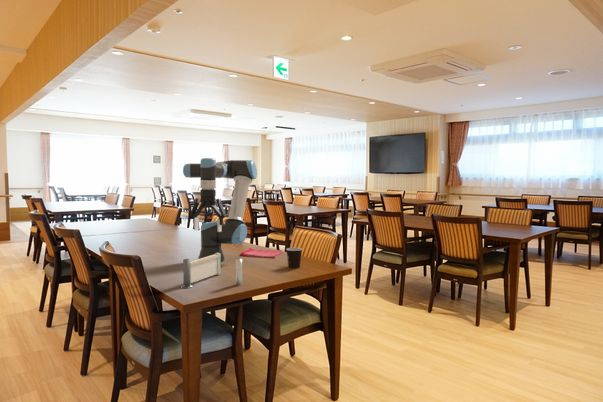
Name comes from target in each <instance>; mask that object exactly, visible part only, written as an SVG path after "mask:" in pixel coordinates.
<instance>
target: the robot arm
mask: <svg viewBox="0 0 603 402" xmlns="http://www.w3.org/2000/svg"><path fill="white" fill-rule="evenodd" d="M257 172H258V170H257V165H256V163H255V161H254V160H249V159H245V160H242V159H241V160H240V159H237V160H235V159H232V160H224V161H218V162H217V161H216V159H215V158H209V157H207V158H205V157H204V158H201V159H200V163H185V164H184V165H183V169H182V173H183V176H184V177H185V178H193V179H194V178H195V179H196V178H197V179H199V178H200V190H199V191H200V193H199V194H200V198H199V197H195V199H194V203H193V206H192V208H191V211H190V213H189V217H192V223H193V227H194V231H199V229H200V246H201V247H200V251H199V256H197V257H198V258H197V259H200V258H204V257H207V256H211V255H214V254H215V253H220V254H221V256H220V259H221V262H224V261H225V255H224V252H223V249H222V244H226V245H234V246H235V245H241V244H243V243H244V242H245V240H246V238H247V235H248V227H247V225H246V222H245V221H244V215H245V211H246V204H247V200H248V193H249V186H250V185H251V184H252V183H253V180H255V179H257V177H258V176H257V175H258V173H257ZM216 178H217V179H221V178H224V179H230V180H231V179H232V180H233V181H234V182H235V183H234V187H233V193H232V196H231V197H232V198H231V203H230V209H229V213H228V216H227V213H226V210H225V209H224V206H223V204H222V199H221V198H216V193H217V192H216V191H217V190H216V188H217V187H216V186H217V185H216V184H217V183H216V182H217V181H216V180H217V179H216ZM205 208H211V209H212V210H213V212H214V213H215V215H217V220H216V221H209V222H208V221H207V222H204V223H201V225H200V228H199V224H200V223H199V220H200V218H199V215H200V213H201V212H202V211H203V210H204V209H205ZM224 218H225V220H224Z"/></svg>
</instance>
